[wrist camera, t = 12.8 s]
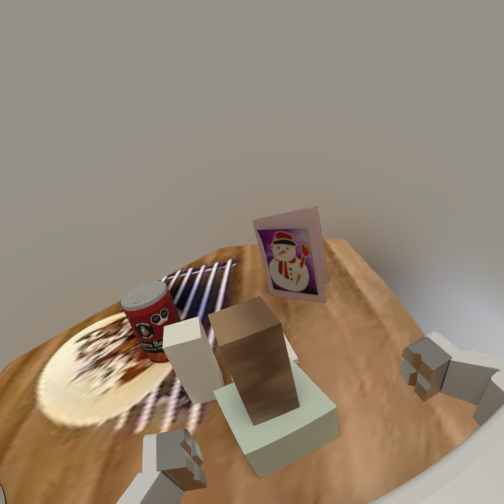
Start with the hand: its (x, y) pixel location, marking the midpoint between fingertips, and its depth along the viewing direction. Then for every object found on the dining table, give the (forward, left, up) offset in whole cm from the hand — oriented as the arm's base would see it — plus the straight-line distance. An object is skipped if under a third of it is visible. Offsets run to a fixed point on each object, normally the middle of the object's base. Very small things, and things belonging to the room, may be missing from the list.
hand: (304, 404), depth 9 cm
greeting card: (+12, +39, -20) cm, 45 cm away
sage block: (-1, +12, -20) cm, 23 cm away
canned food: (-14, +34, -20) cm, 42 cm away
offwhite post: (-8, +22, -19) cm, 30 cm away
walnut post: (-1, +12, -14) cm, 18 cm away
